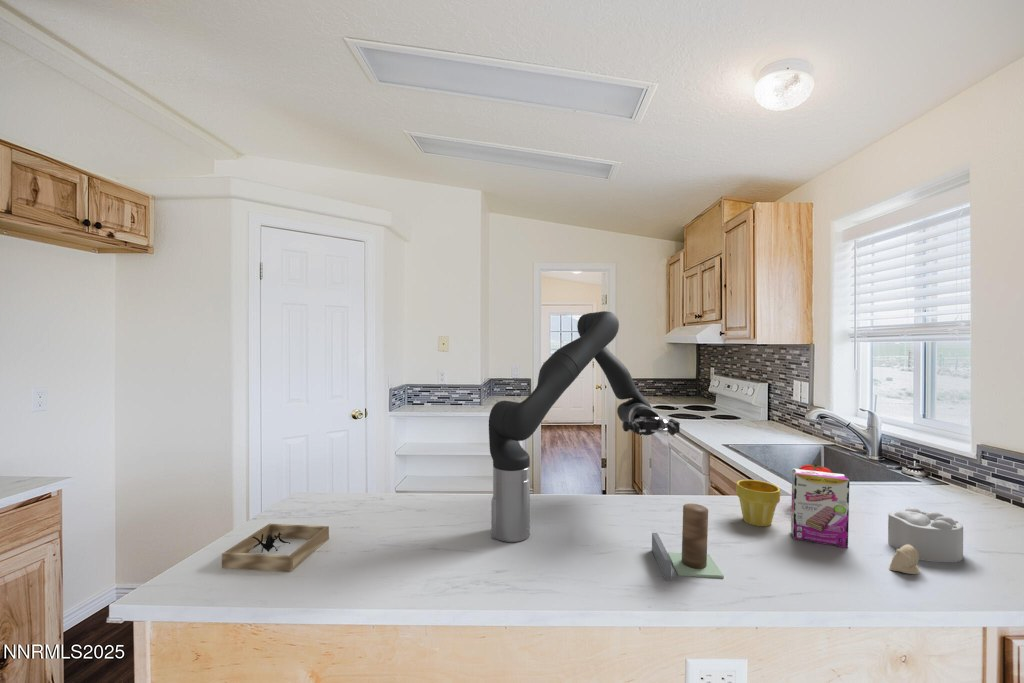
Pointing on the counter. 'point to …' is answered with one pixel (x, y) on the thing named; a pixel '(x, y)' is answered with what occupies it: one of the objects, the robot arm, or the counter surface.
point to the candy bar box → (820, 507)
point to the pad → (684, 570)
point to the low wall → (661, 556)
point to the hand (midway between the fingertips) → (655, 430)
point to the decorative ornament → (905, 560)
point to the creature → (269, 542)
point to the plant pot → (757, 501)
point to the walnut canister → (694, 536)
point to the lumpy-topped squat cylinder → (927, 534)
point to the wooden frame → (244, 560)
